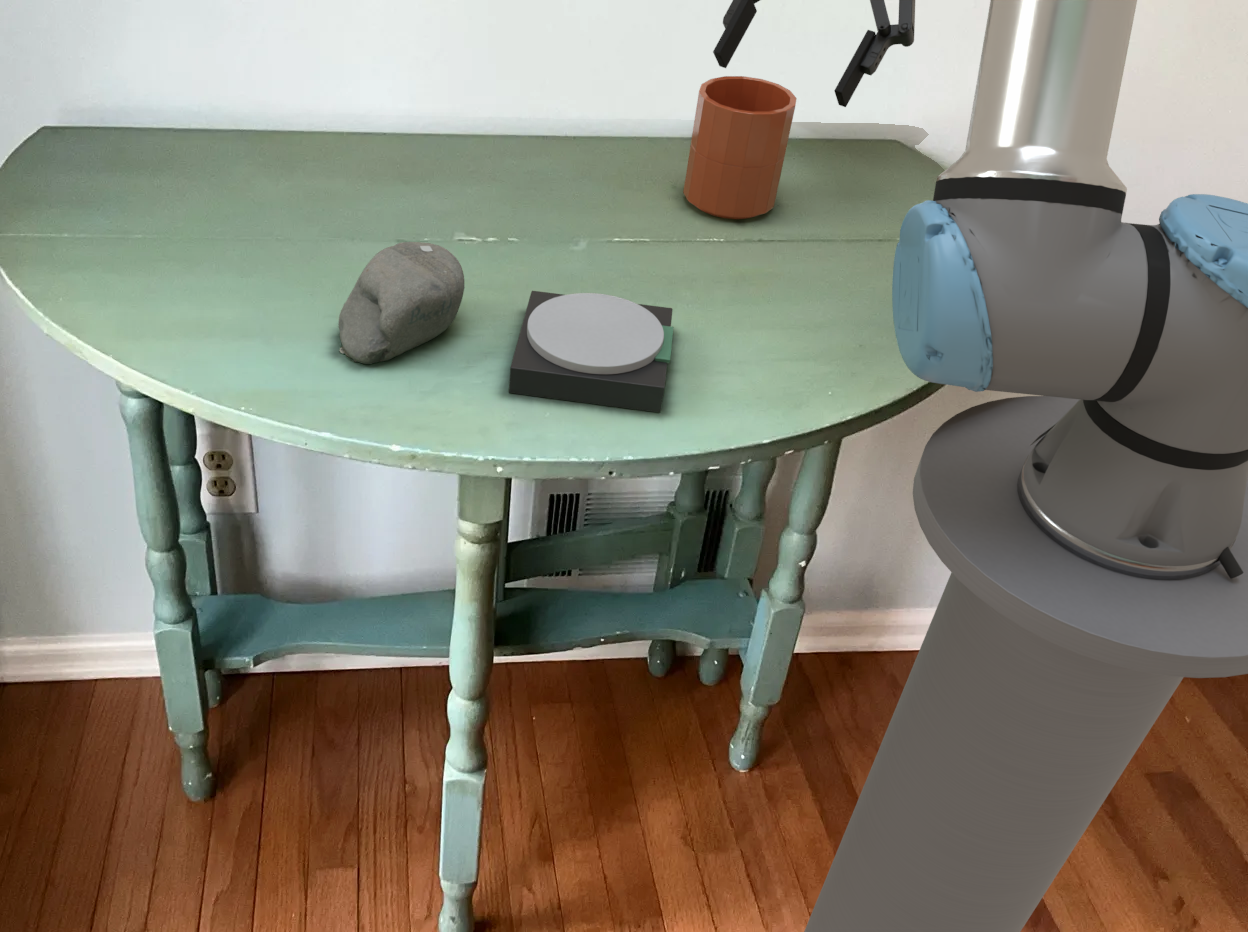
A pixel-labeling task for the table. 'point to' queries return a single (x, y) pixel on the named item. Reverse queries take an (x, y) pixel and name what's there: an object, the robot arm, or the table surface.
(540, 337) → the scale
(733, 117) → the terracotta flower pot
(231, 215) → the table surface
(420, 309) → the stone
